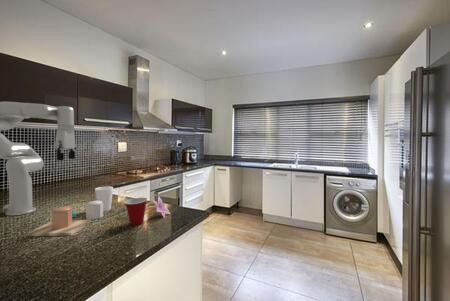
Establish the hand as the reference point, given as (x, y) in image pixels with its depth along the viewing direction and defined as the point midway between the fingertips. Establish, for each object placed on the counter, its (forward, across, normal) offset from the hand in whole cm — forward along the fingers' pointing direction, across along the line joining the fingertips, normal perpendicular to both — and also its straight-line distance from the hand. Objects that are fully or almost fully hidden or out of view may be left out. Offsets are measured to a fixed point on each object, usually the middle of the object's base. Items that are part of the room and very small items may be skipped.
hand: (66, 159), depth 122 cm
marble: (+29, +8, +8) cm, 31 cm away
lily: (+31, +7, +54) cm, 62 cm away
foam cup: (+31, -5, +18) cm, 36 cm away
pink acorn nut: (+29, +23, +12) cm, 39 cm away
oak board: (+30, +23, +12) cm, 40 cm away
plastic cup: (+31, +18, +44) cm, 56 cm away
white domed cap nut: (+30, +8, +19) cm, 37 cm away
